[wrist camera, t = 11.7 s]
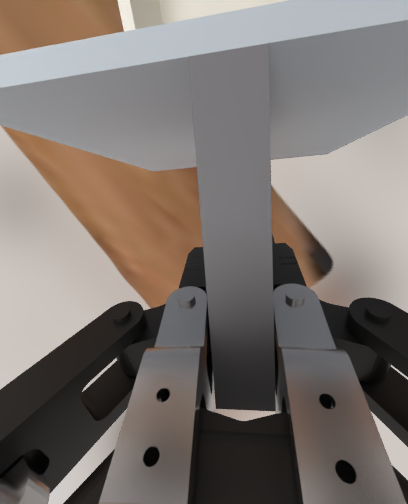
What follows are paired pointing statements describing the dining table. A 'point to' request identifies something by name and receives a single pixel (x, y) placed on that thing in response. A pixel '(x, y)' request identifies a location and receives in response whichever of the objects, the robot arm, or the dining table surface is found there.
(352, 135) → the square plate with stem
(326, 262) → the dining table surface
